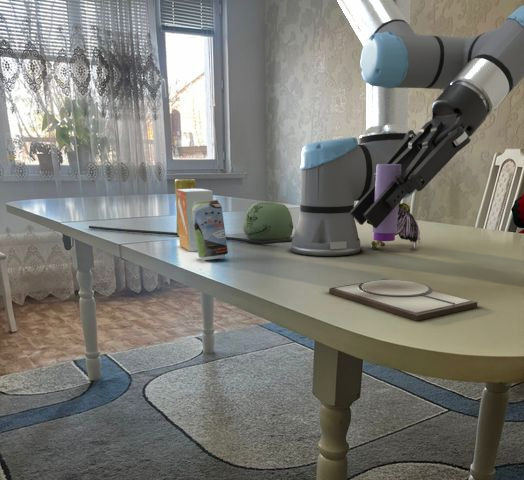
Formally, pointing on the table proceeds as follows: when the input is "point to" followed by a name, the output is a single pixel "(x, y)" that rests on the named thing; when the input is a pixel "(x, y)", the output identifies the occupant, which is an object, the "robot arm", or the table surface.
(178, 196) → the small box
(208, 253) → the green printed package
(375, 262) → the table surface
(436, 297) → the board
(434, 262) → the table surface
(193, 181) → the vase
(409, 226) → the decorative flower
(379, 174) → the cylinder
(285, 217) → the green rounded lump
